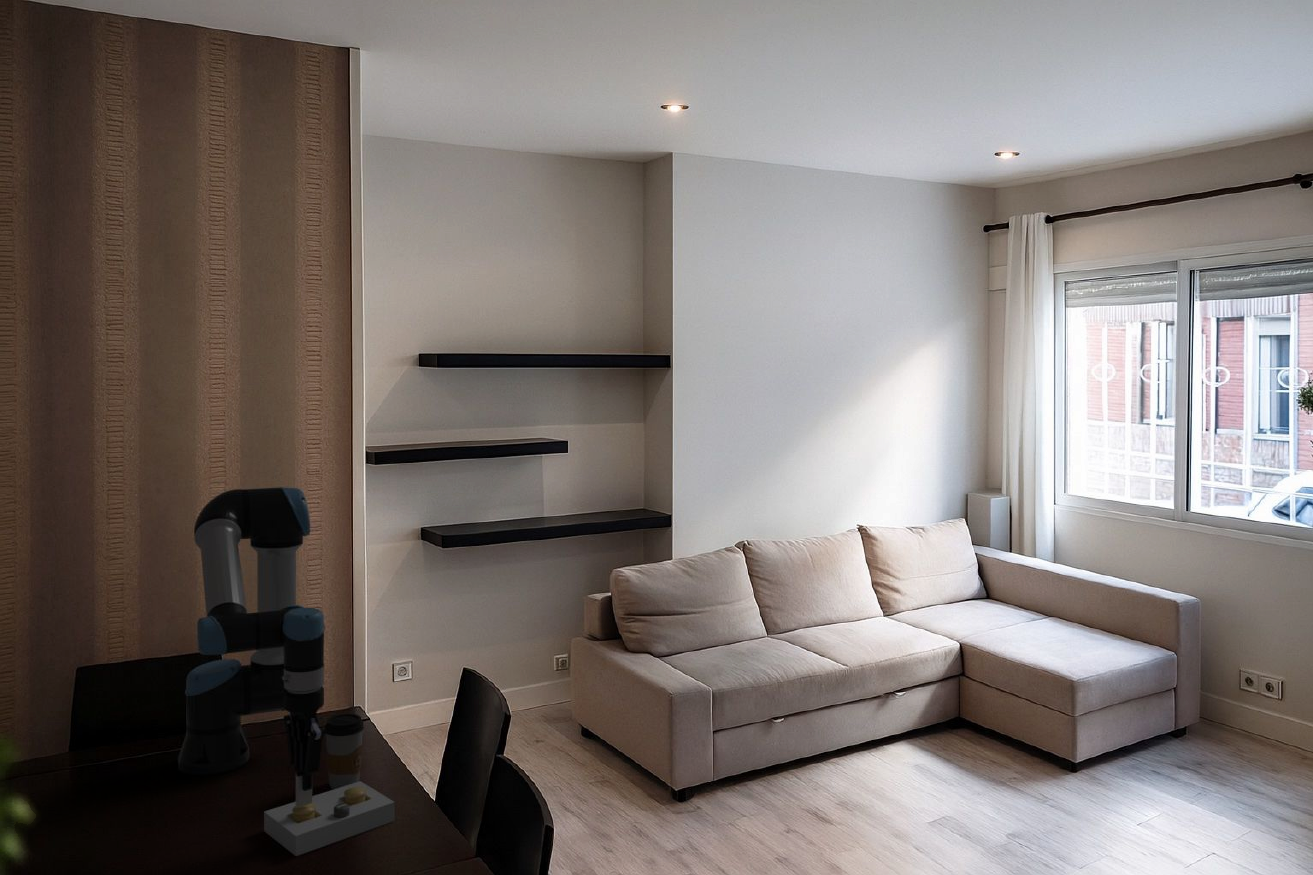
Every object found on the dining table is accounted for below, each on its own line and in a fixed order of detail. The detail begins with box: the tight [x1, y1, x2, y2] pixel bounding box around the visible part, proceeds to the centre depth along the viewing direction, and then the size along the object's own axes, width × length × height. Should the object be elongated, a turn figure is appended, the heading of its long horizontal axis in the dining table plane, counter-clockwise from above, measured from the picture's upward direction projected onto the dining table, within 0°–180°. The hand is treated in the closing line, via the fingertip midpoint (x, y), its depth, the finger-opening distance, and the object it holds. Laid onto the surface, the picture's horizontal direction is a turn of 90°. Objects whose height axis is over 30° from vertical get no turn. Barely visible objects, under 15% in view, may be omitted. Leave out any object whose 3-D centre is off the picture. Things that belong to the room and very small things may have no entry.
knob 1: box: [292, 803, 316, 823], centre depth 188 cm, size 4×4×4 cm
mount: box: [263, 780, 395, 857], centre depth 192 cm, size 14×21×6 cm, turn 136°
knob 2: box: [344, 787, 366, 806], centre depth 196 cm, size 4×4×4 cm
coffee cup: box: [324, 713, 364, 790], centre depth 211 cm, size 8×8×15 cm
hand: (304, 803), depth 188 cm, fingers closed
